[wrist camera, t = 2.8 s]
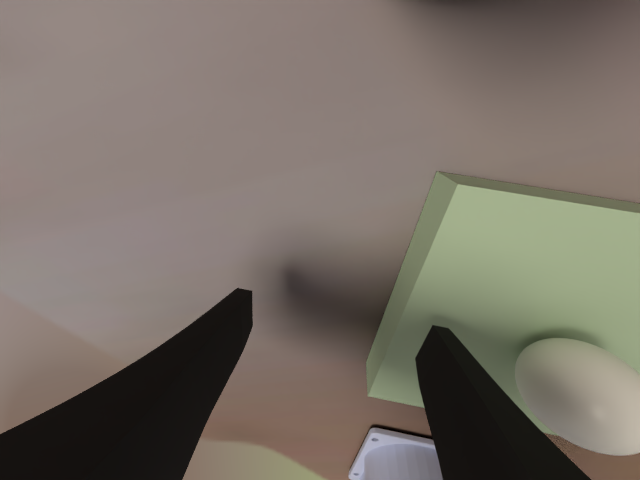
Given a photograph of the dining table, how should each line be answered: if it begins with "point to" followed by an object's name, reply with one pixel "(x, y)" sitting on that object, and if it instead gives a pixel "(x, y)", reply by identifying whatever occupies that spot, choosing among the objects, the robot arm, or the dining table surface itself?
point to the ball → (582, 394)
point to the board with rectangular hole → (510, 281)
